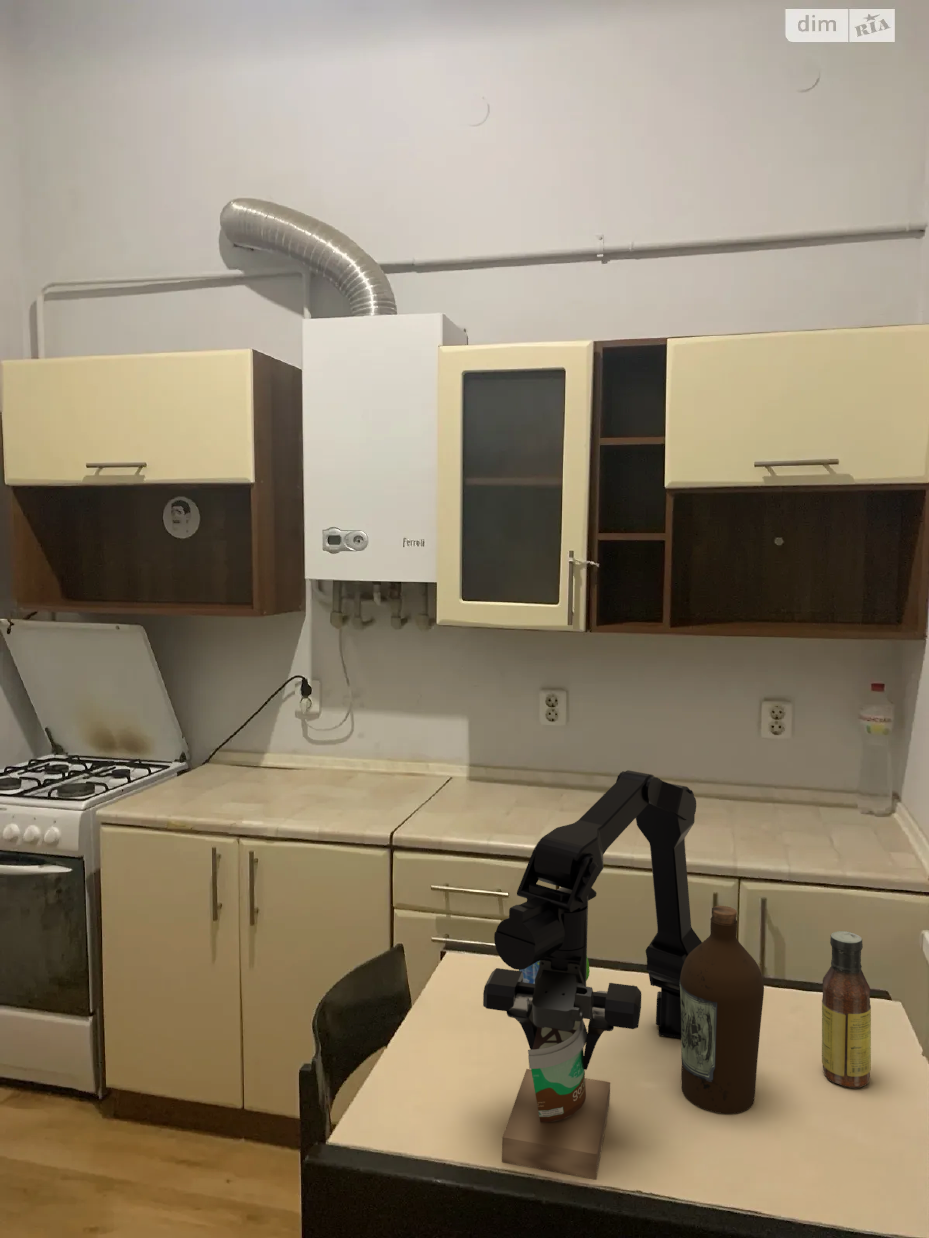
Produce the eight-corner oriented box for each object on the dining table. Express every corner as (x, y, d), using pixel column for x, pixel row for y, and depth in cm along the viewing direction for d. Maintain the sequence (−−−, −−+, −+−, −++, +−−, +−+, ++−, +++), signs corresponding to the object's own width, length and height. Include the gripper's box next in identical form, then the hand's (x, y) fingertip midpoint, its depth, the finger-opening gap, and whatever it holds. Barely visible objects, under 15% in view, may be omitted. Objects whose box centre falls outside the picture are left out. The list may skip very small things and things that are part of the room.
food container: (589, 1132, 107) (579, 1053, 106) (538, 1130, 108) (527, 1052, 107) (600, 1067, 119) (590, 995, 117) (553, 1066, 120) (543, 995, 119)
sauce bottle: (870, 1071, 127) (877, 932, 126) (869, 1095, 122) (876, 949, 121) (820, 1060, 130) (826, 923, 129) (817, 1082, 125) (823, 940, 123)
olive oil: (722, 1064, 129) (728, 890, 127) (777, 1105, 119) (784, 918, 117) (660, 1081, 124) (666, 901, 123) (712, 1125, 115) (719, 931, 113)
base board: (609, 1104, 119) (610, 1081, 119) (596, 1179, 104) (596, 1153, 104) (526, 1090, 122) (526, 1068, 121) (501, 1161, 107) (502, 1136, 107)
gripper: (473, 959, 106) (471, 1088, 107) (636, 980, 101) (632, 1115, 102) (494, 922, 117) (492, 1040, 118) (643, 939, 112) (639, 1062, 113)
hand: (560, 1064), depth 112 cm, fingers closed on food container, 6 cm apart
